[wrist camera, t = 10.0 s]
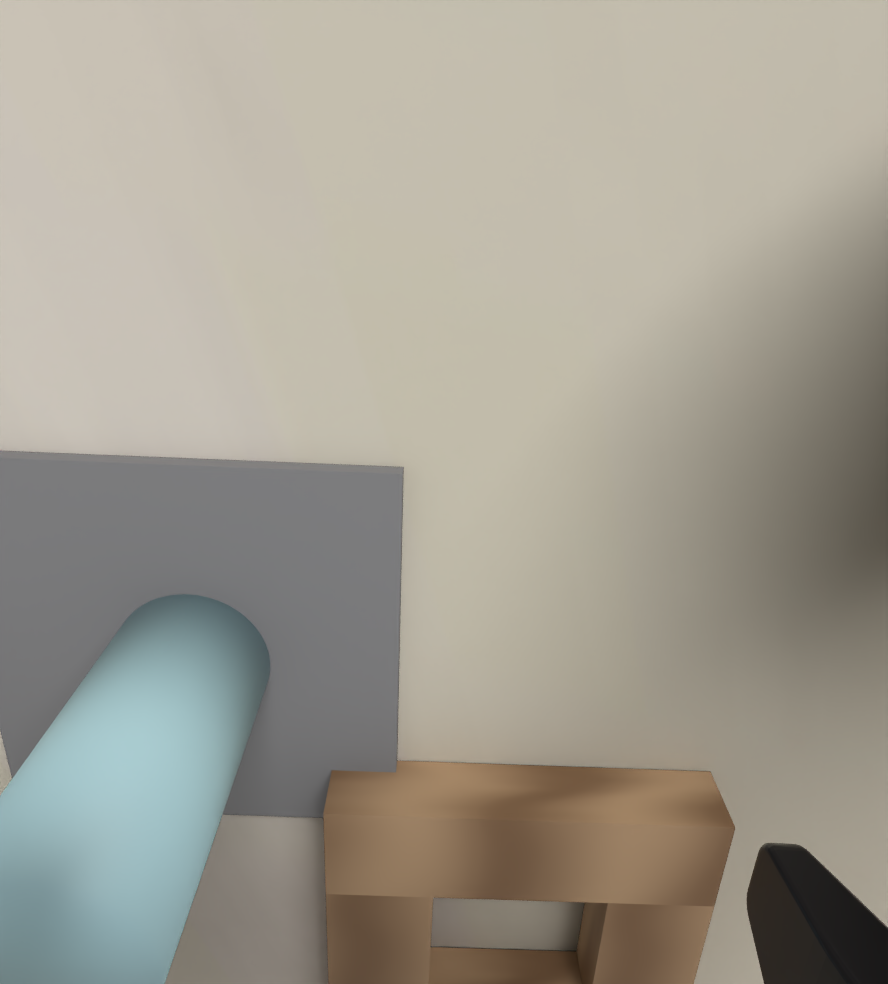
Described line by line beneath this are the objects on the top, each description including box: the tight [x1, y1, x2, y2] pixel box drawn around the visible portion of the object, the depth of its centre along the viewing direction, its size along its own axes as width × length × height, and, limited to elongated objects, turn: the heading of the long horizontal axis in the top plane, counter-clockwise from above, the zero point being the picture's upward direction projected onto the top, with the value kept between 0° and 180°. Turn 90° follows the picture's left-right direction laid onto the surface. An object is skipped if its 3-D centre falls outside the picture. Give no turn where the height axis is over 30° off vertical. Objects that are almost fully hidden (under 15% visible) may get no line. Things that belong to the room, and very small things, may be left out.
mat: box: [0, 451, 404, 818], centre depth 21 cm, size 12×12×1 cm
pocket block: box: [323, 761, 735, 984], centre depth 25 cm, size 12×12×2 cm
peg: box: [0, 594, 270, 984], centre depth 17 cm, size 4×4×9 cm
